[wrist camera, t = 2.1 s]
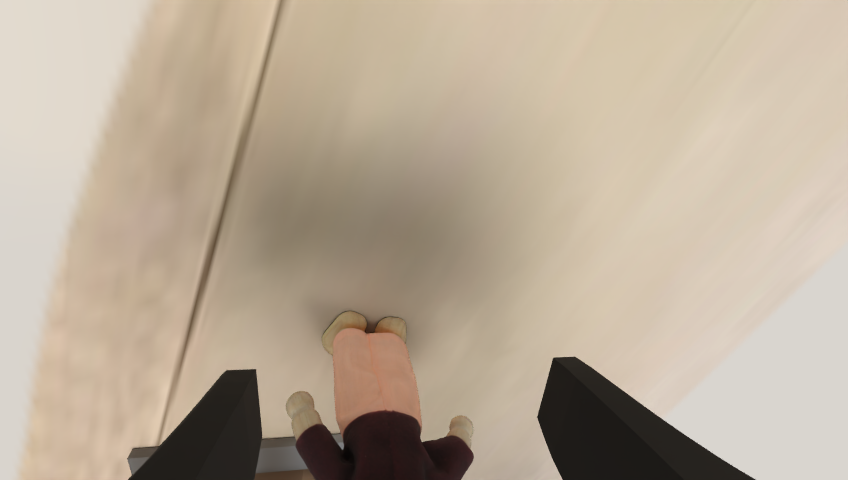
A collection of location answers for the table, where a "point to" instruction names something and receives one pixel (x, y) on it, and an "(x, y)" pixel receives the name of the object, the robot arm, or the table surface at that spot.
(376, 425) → the grandmother figurine
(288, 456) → the wooden tray
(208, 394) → the robot arm
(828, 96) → the table surface
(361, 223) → the table surface
